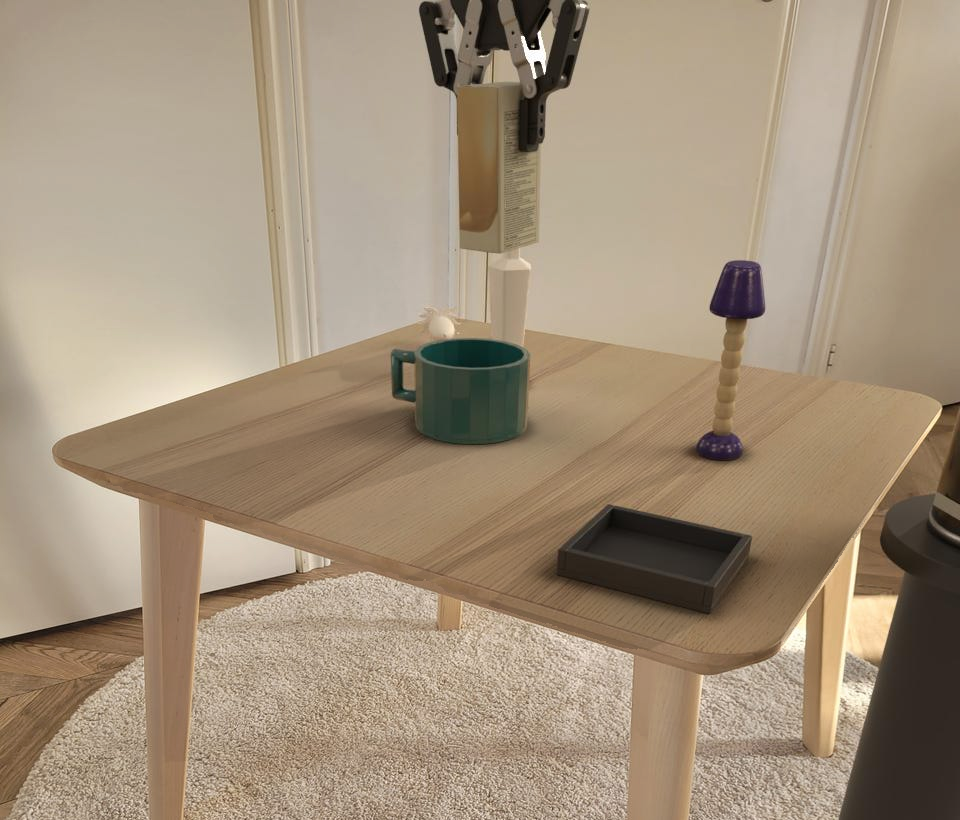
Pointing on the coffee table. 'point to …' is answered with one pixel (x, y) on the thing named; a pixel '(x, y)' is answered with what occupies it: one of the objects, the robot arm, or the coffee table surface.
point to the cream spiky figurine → (439, 323)
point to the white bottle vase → (509, 297)
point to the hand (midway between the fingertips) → (500, 148)
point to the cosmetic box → (495, 171)
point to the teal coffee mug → (466, 389)
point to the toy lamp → (732, 350)
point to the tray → (655, 557)
